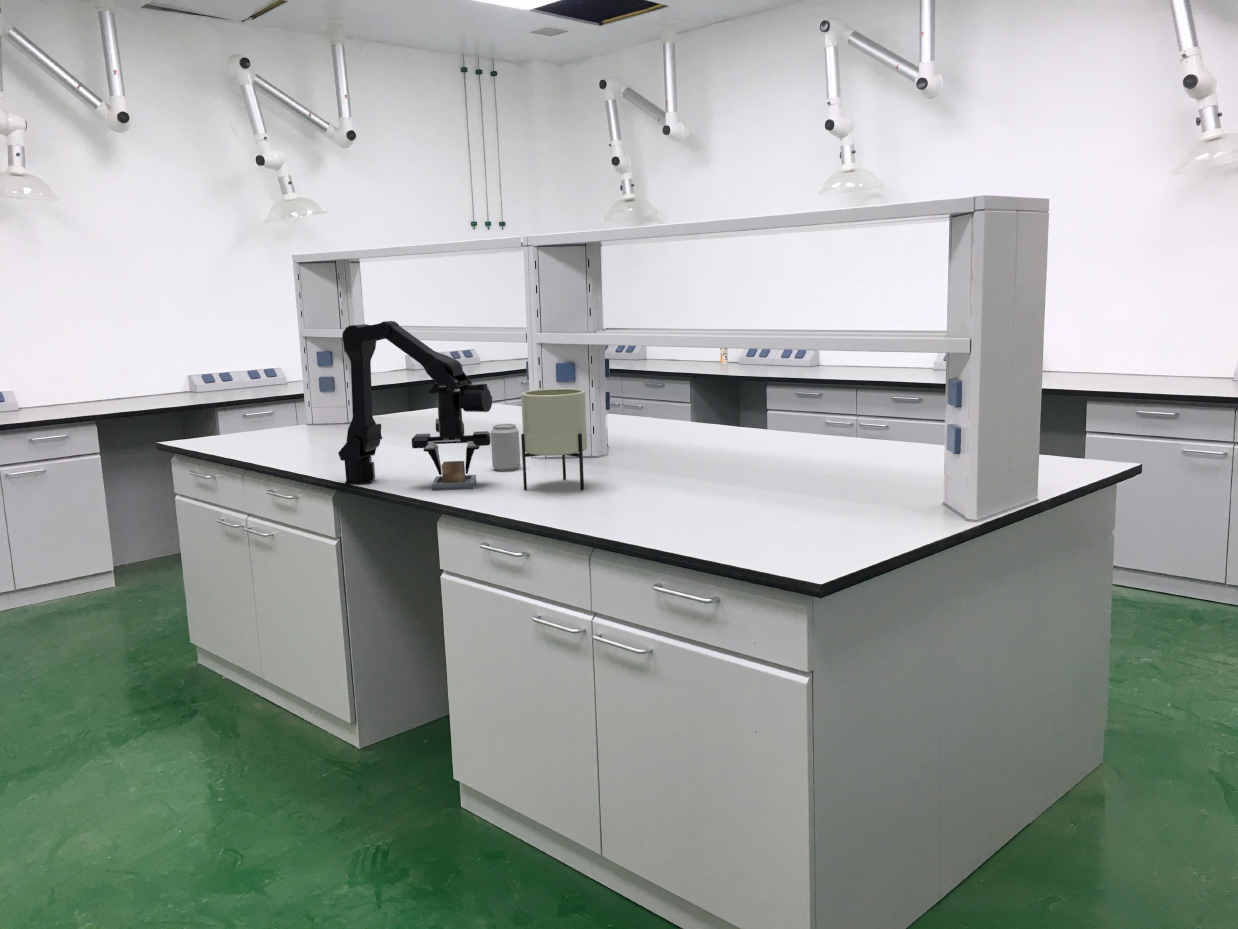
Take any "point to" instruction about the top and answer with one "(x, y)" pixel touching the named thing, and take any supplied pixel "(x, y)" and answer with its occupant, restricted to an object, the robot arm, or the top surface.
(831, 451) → the top surface
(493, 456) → the can
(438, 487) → the tray
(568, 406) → the planter
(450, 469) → the cube
